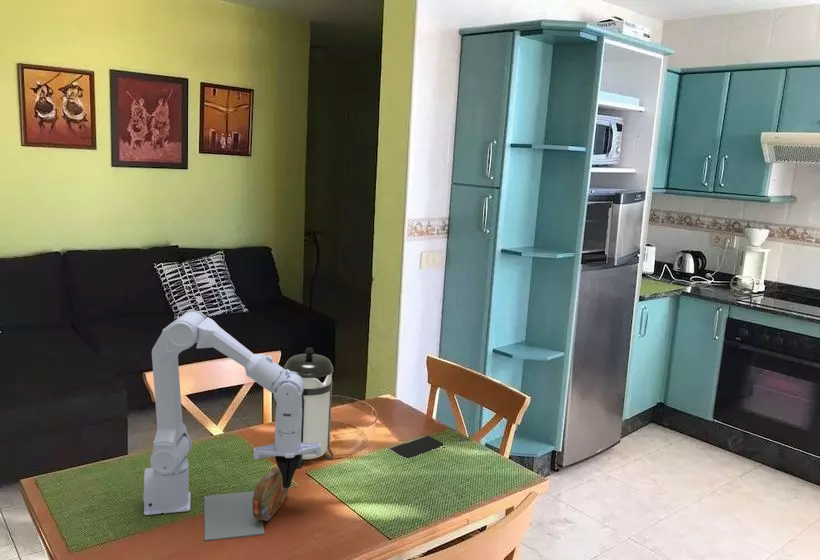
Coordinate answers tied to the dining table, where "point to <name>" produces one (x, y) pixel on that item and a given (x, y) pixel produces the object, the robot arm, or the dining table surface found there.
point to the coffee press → (314, 399)
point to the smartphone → (417, 447)
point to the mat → (230, 516)
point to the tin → (269, 495)
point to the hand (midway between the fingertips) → (286, 485)
